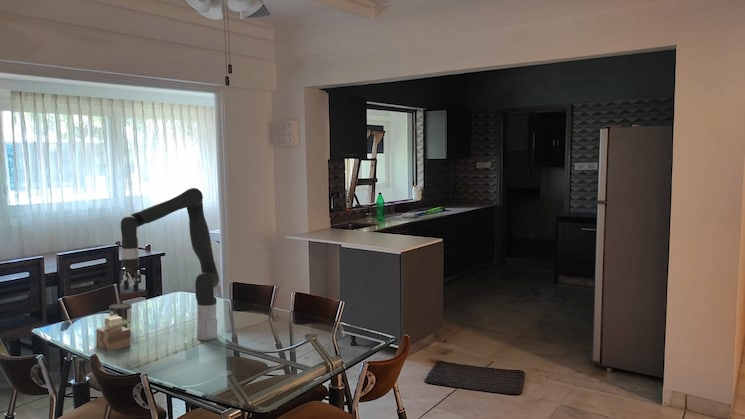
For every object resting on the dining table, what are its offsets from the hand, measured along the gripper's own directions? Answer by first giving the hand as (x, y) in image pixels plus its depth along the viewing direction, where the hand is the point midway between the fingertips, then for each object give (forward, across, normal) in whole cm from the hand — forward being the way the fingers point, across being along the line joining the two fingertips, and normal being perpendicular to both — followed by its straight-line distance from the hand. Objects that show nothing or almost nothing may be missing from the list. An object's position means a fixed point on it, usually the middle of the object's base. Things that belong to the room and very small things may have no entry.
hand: (131, 290), depth 260 cm
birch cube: (+16, 0, +9) cm, 19 cm away
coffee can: (+24, +17, -3) cm, 30 cm away
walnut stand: (+24, 0, +9) cm, 26 cm away
